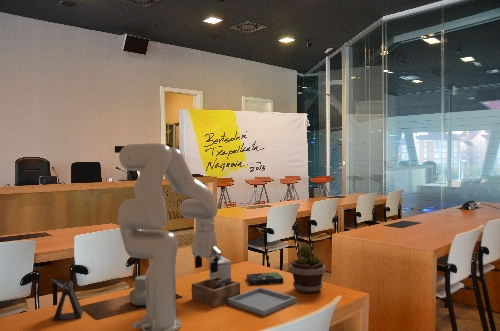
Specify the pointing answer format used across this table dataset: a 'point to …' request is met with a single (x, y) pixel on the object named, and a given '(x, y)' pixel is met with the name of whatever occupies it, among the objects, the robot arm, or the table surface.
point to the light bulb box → (221, 268)
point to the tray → (261, 301)
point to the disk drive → (264, 278)
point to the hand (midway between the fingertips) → (206, 269)
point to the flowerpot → (307, 271)
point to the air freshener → (139, 291)
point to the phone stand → (74, 302)
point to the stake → (222, 281)
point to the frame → (214, 291)
